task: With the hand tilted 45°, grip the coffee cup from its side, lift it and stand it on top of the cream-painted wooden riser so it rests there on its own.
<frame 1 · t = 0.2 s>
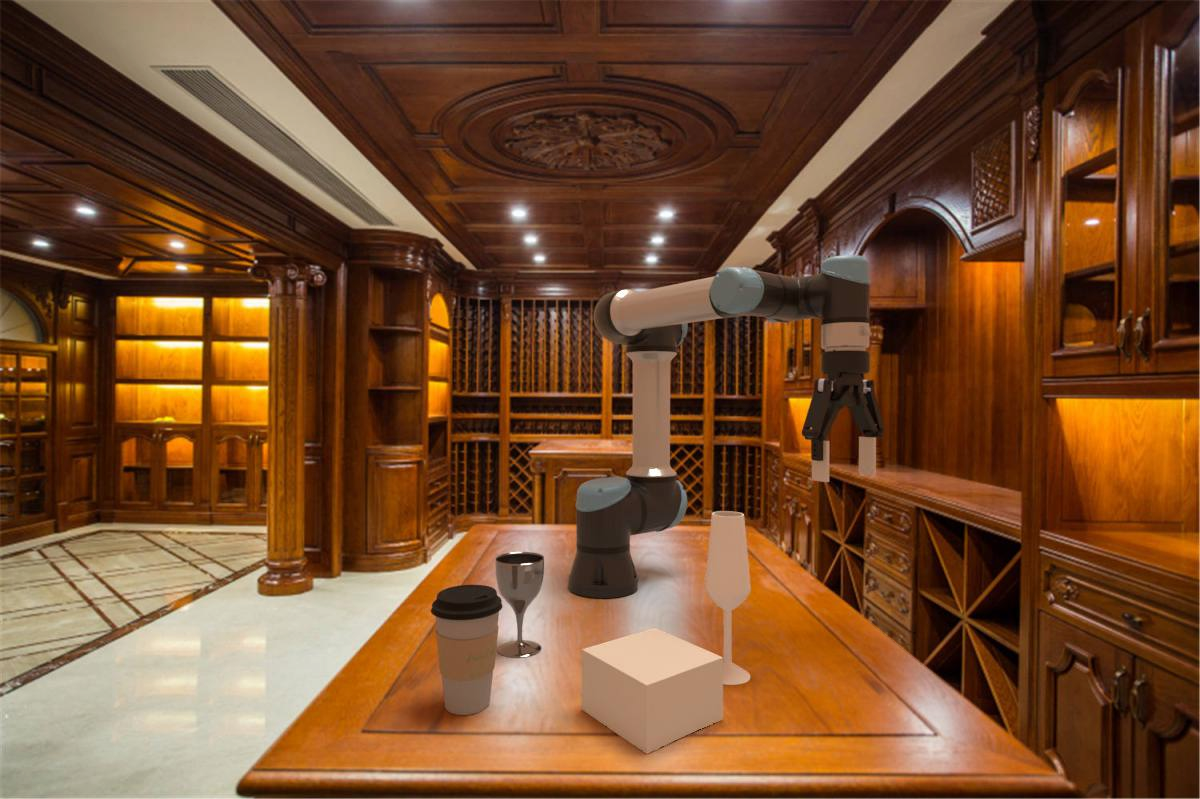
hand: (844, 478, 105), 28 cm above the table, tool pointing down, fingers open, 13 cm apart
wine glass: (519, 650, 103), on the table
coffee cup: (467, 705, 85), on the table
riser: (651, 714, 82), on the table
champagne flute: (727, 675, 94), on the table
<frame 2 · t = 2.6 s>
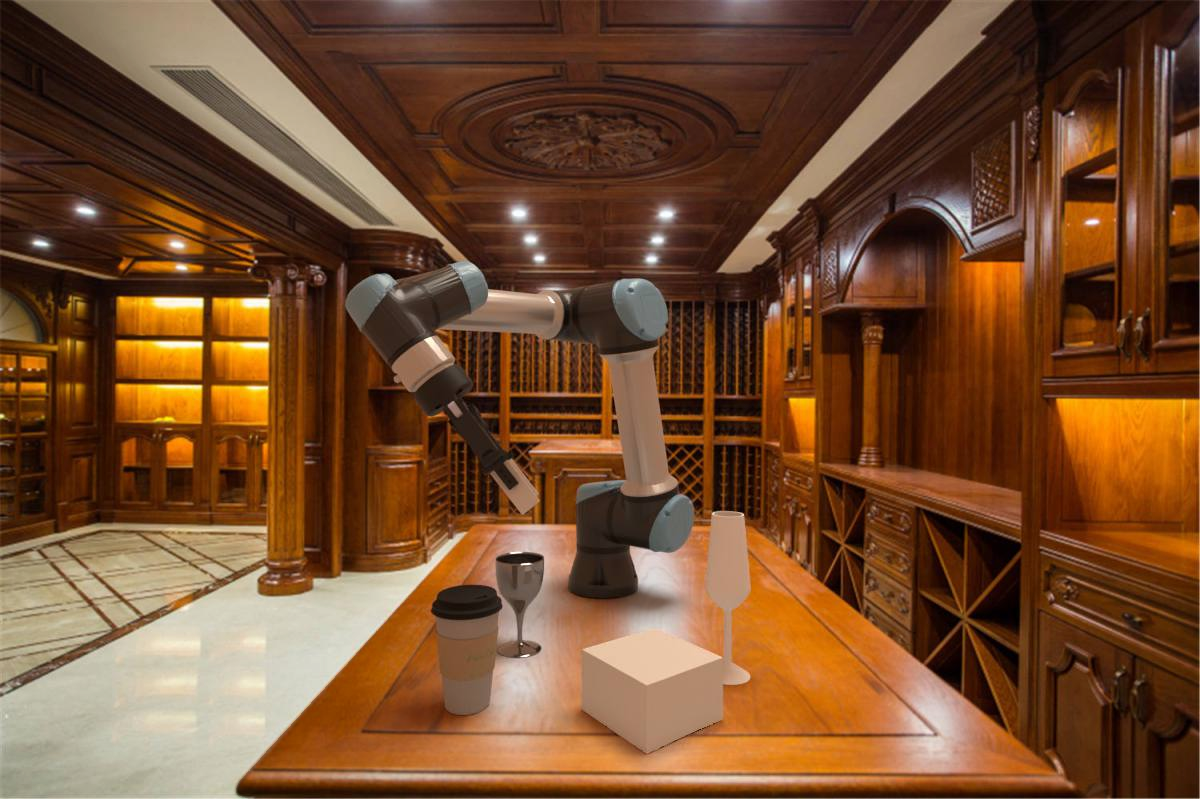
hand: (531, 503, 84), 27 cm above the table, tool tilted 40°, fingers open, 13 cm apart
nothing on the table moved.
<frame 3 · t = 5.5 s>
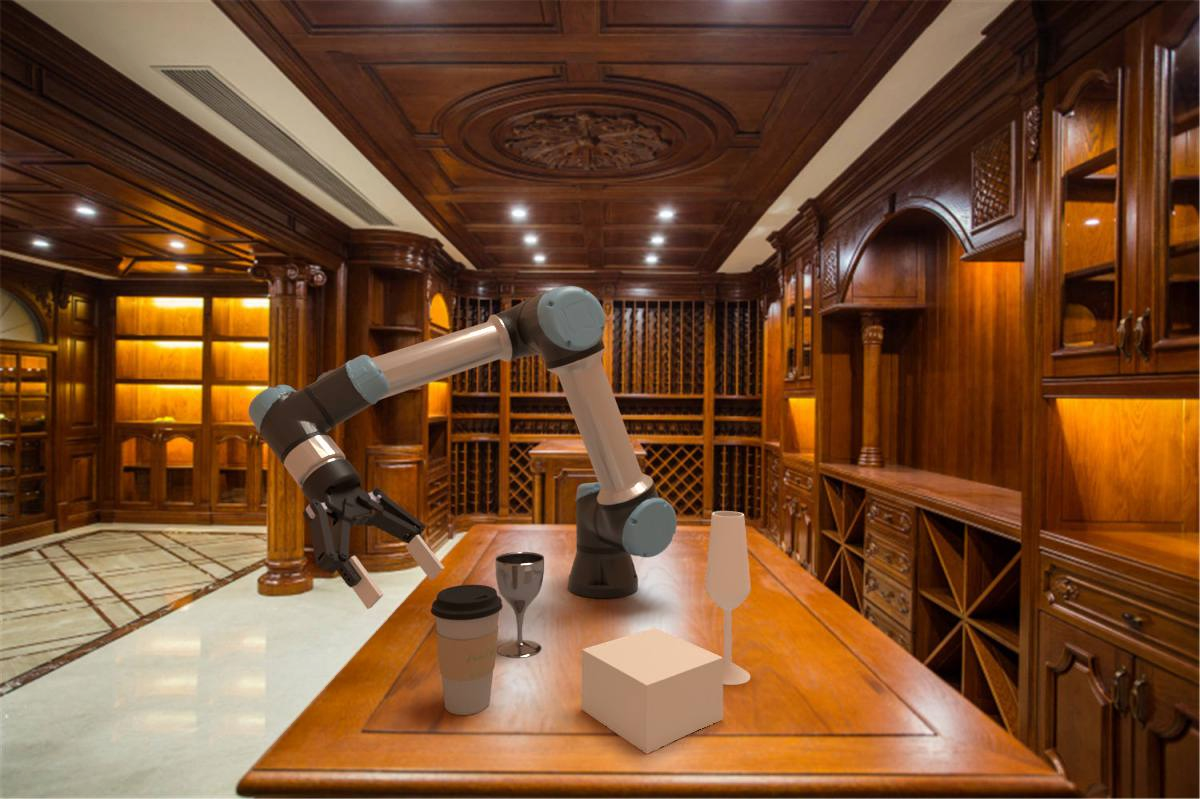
hand: (409, 587, 87), 15 cm above the table, tool tilted 45°, fingers open, 13 cm apart
nothing on the table moved.
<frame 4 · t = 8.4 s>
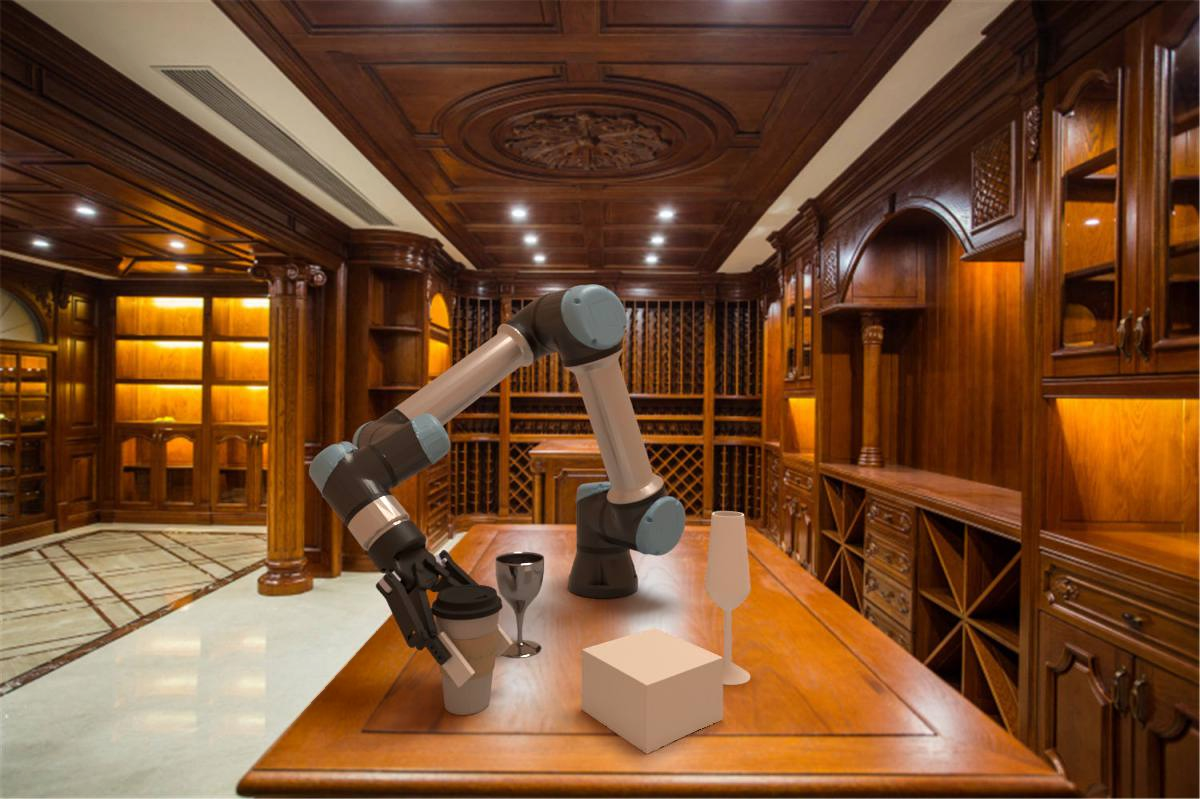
hand: (487, 663, 83), 6 cm above the table, tool tilted 45°, fingers closed on coffee cup, 9 cm apart
coffee cup: (466, 705, 85), on the table, touching gripper
everything else where it was.
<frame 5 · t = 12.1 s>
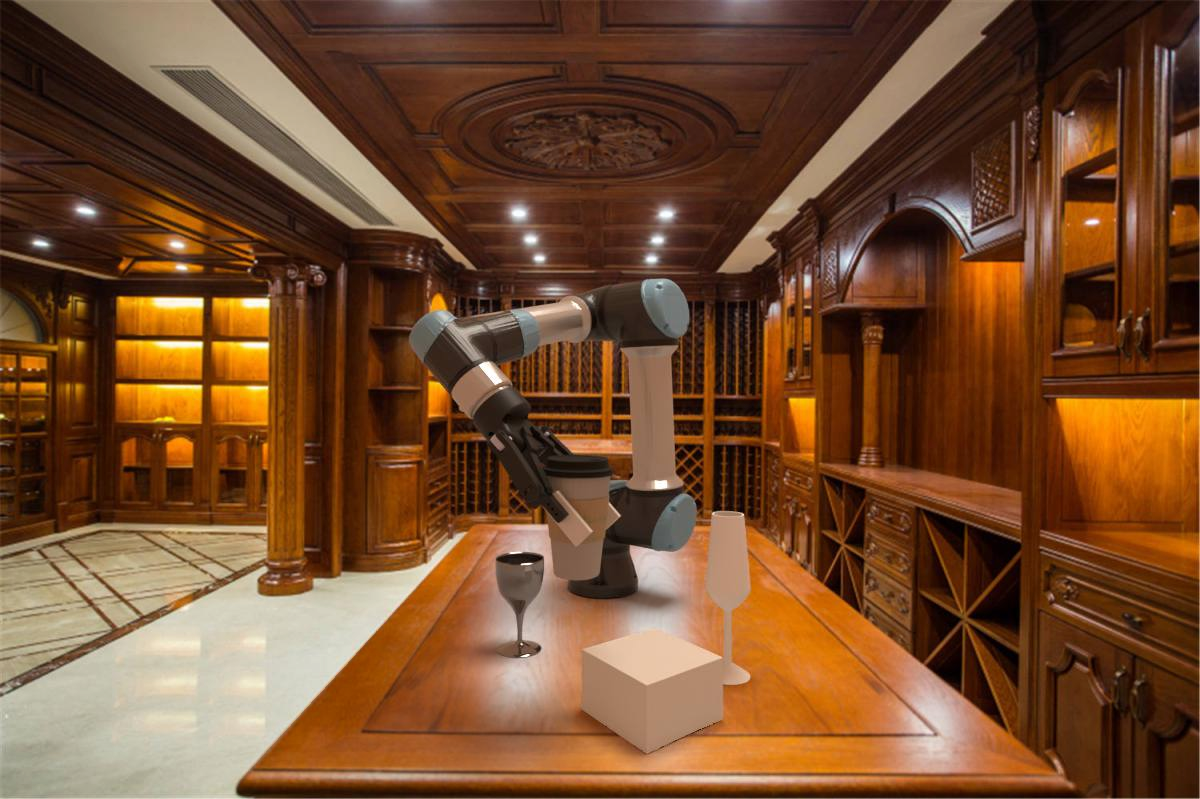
hand: (599, 530, 80), 24 cm above the table, tool tilted 45°, fingers closed on coffee cup, 9 cm apart
coffee cup: (576, 575, 81), point 18 cm above the table, touching gripper
everything else where it was.
when the fingers open (15 cm above the table, at t = 15.7 s): coffee cup drops 1 cm, resting on riser.
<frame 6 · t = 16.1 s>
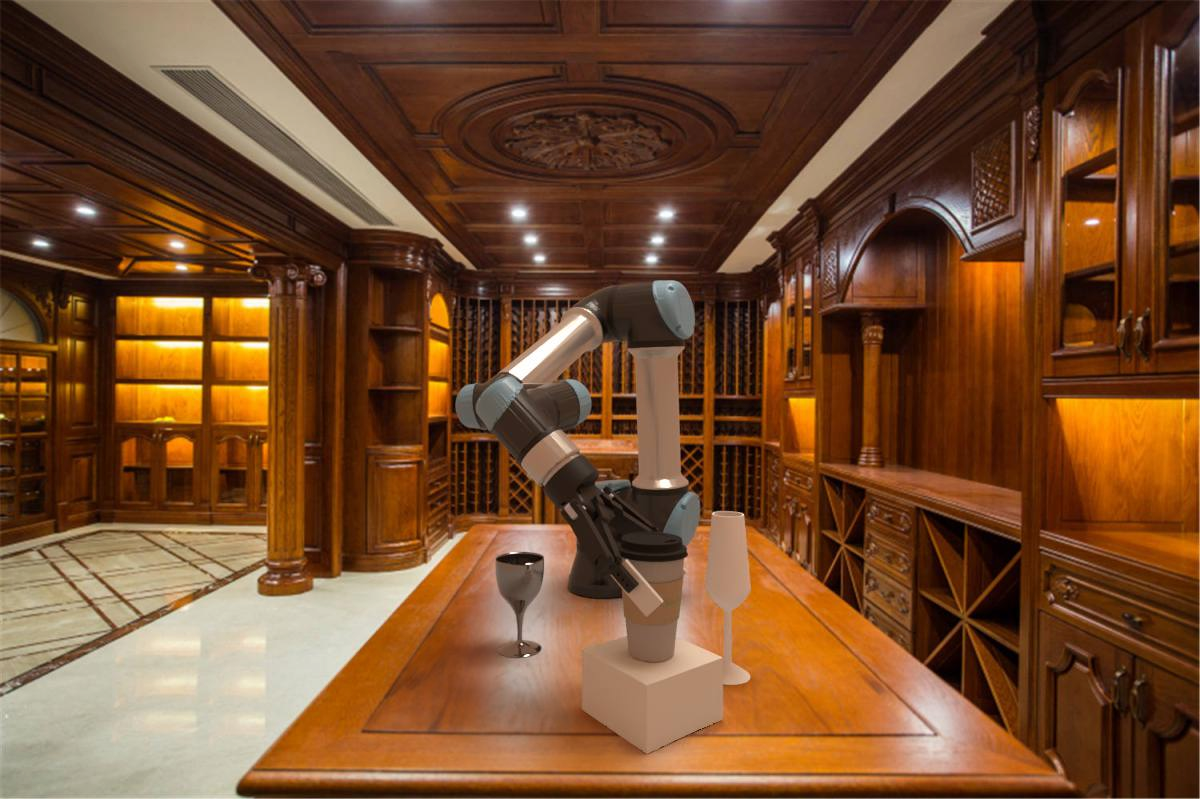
hand: (669, 592, 81), 16 cm above the table, tool tilted 45°, fingers open, 13 cm apart
coffee cup: (650, 654, 82), point 8 cm above the table, touching riser
everything else where it was.
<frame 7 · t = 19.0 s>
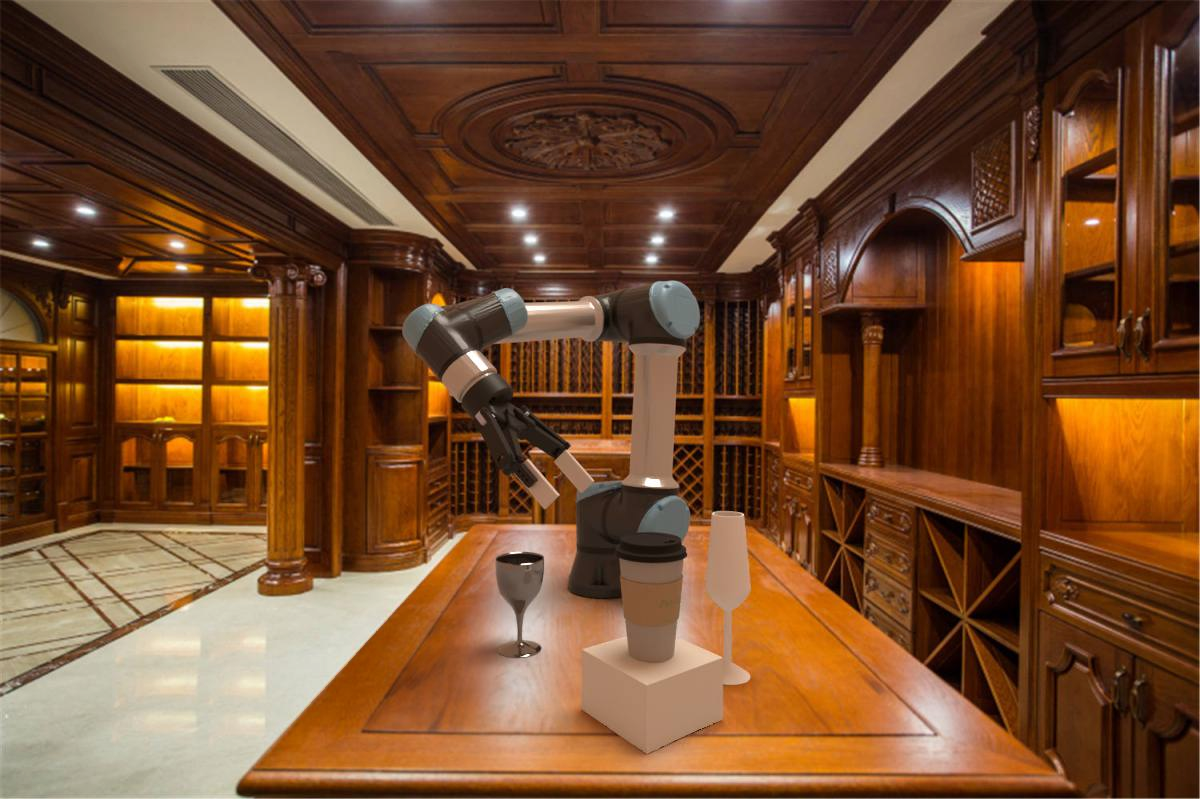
hand: (571, 494, 90), 27 cm above the table, tool tilted 45°, fingers open, 13 cm apart
nothing on the table moved.
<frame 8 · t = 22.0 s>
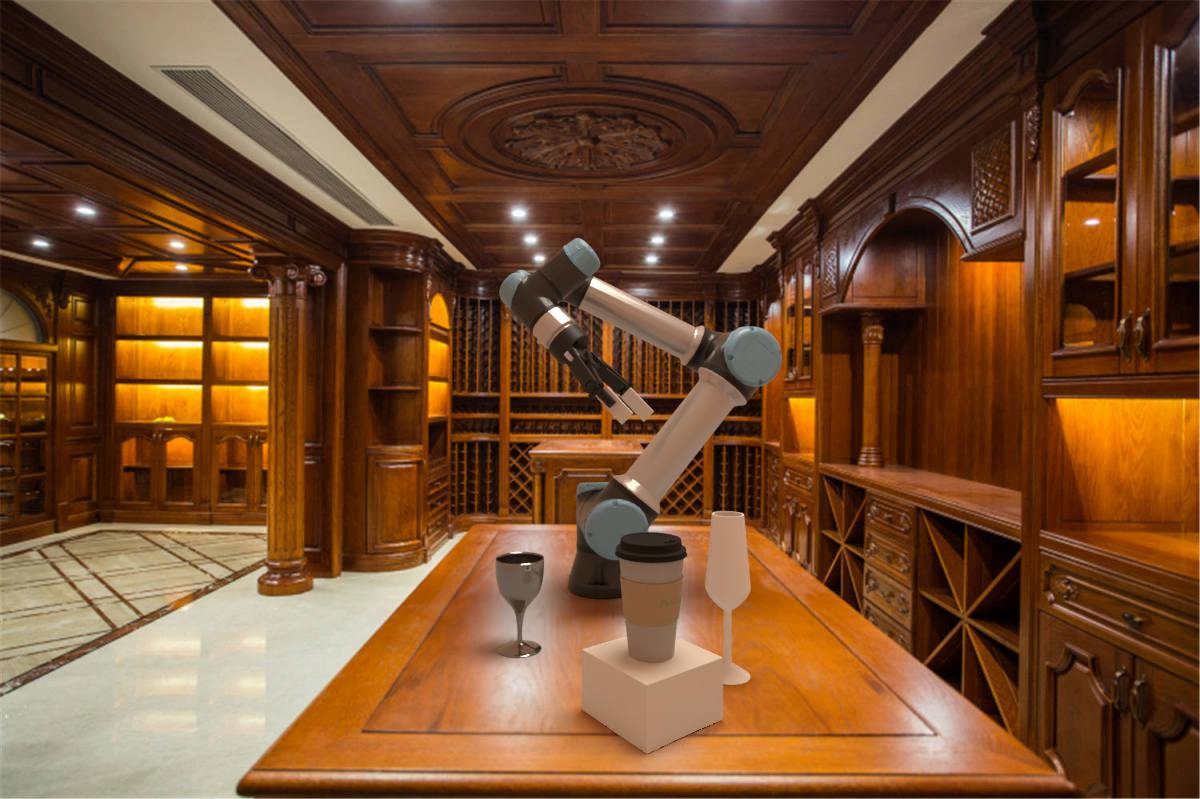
hand: (638, 417, 113), 38 cm above the table, tool tilted 45°, fingers open, 13 cm apart
nothing on the table moved.
at the end: coffee cup inside the target area on the riser (0.1 cm from its centre), point 7.8 cm above the riser's base; coffee cup tilted 0°; the gripper is holding nothing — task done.
